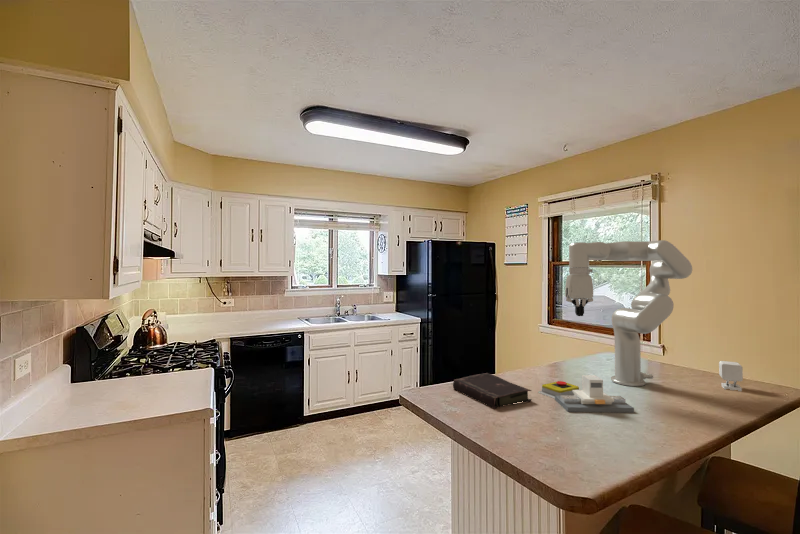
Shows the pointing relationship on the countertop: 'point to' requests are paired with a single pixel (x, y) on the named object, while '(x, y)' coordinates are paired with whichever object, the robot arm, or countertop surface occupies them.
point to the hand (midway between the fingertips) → (579, 315)
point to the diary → (491, 390)
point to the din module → (592, 386)
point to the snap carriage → (593, 398)
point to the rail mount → (593, 405)
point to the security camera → (731, 374)
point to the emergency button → (558, 389)
